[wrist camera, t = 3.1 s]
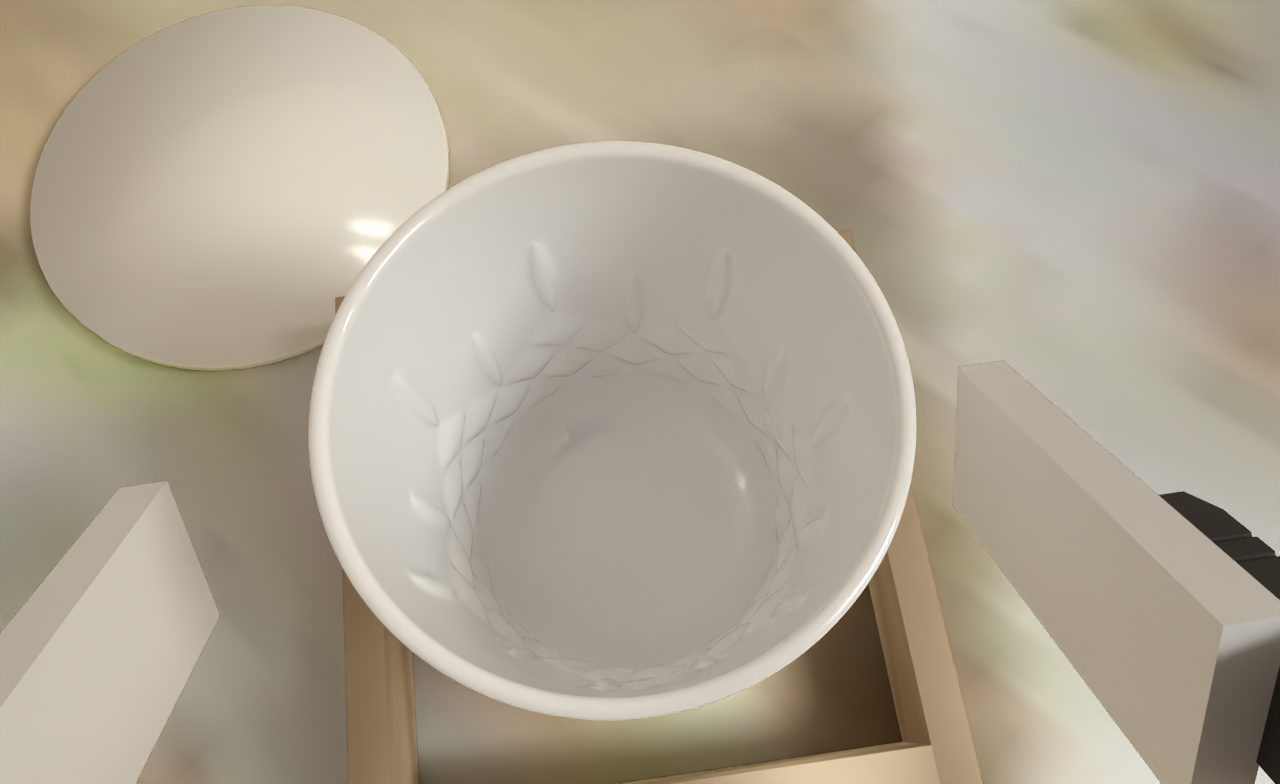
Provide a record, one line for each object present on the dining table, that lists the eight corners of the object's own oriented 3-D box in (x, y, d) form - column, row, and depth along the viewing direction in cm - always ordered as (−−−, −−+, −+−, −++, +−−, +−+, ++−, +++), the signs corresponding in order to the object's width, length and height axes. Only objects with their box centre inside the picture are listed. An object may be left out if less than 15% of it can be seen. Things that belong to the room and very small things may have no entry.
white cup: (399, 498, 22) (201, 334, 12) (668, 319, 23) (676, 49, 14) (586, 794, 19) (521, 870, 10) (871, 576, 21) (1048, 464, 11)
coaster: (436, -7, 27) (433, -17, 26) (464, 340, 23) (461, 333, 23) (55, 40, 26) (46, 30, 26) (22, 398, 23) (11, 393, 22)
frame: (832, 272, 23) (849, 230, 21) (948, 775, 19) (983, 784, 17) (363, 334, 23) (334, 297, 21) (384, 859, 19) (350, 877, 17)
